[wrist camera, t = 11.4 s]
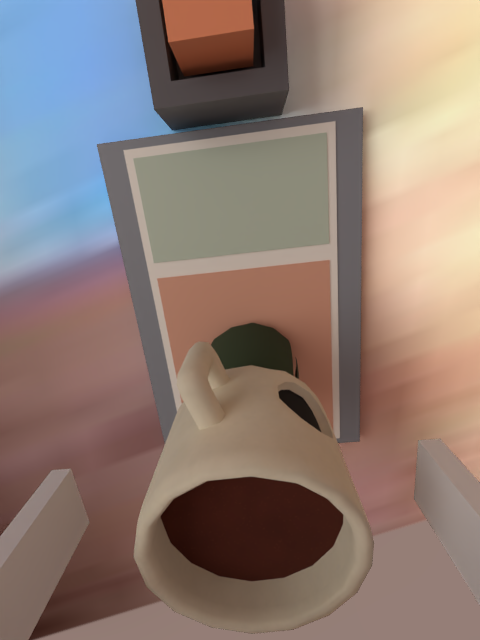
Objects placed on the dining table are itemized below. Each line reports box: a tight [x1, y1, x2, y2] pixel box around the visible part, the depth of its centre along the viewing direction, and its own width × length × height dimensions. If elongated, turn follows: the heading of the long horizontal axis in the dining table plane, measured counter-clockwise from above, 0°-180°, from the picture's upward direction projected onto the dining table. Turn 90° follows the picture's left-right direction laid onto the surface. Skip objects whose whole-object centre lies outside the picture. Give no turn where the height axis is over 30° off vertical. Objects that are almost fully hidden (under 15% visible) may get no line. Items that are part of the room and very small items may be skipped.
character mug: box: [133, 323, 374, 634], centre depth 15 cm, size 11×7×13 cm, turn 23°
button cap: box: [162, 0, 254, 77], centre depth 13 cm, size 3×3×3 cm
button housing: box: [136, 0, 289, 130], centre depth 15 cm, size 6×6×4 cm
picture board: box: [97, 107, 363, 443], centre depth 21 cm, size 15×22×1 cm
